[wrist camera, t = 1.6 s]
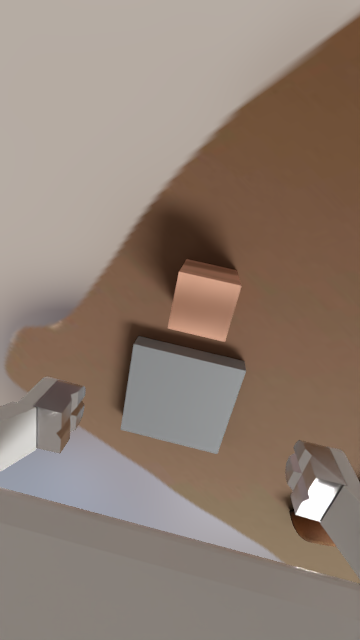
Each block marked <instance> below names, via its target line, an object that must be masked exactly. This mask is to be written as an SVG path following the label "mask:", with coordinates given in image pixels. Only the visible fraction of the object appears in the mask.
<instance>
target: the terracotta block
mask: <svg viewBox="0 0 360 640" xmlns="http://www.w3.org/2000/svg"><path fill="white" fill-rule="evenodd" d="M240 289H241V282H240V279H239V276H238V273H237V270H234V269H229V268H225V267H220V266H216V265H212V264H207V263H203V262H198V261H194V260H189V259H186V261H185V263H184V264H183V266H182V267H181V269H180V271H179V274H178V279H177V284H176V289H175V294H174V299H173V304H172V309H171V314H170V319H169V324H168V328H169V329H173V330H177V331H181V332H185V333H190V334H194V335H198V336H202V337H207V338H211V339H215V340H219V341H223V342H225V340H226V337H227V333H228V330H229V326H230V323H231V320H232V316H233V313H234V310H235V306H236V303H237V299H238V296H239V293H240Z"/></svg>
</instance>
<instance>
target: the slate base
mask: <svg viewBox="0 0 360 640" xmlns="http://www.w3.org/2000/svg"><path fill="white" fill-rule="evenodd" d="M245 372H246V368H245V363H244V361H241V360H237V359H233V358H229V357H225V356H220V355H216V354H212V353H208V352H204V351H200V350H195V349H191V348H187V347H183V346H179V345H174V344H170V343H166V342H162V341H158V340H153V339H149V338H145V337H141V336H138V338H137V339H136V341H135V343H134V345H133V352H132V359H131V365H130V372H129V378H128V385H127V391H126V398H125V405H124V411H123V418H122V424H121V430H124V431H128V432H132V433H136V434H140V435H144V436H148V437H152V438H156V439H160V440H164V441H168V442H172V443H176V444H180V445H183V446H187V447H191V448H195V449H199V450H203V451H207V452H211V453H215V454H217V453H218V450H219V447H220V444H221V442H222V439H223V436H224V433H225V430H226V427H227V424H228V421H229V418H230V416H231V413H232V410H233V407H234V404H235V401H236V398H237V395H238V392H239V390H240V387H241V384H242V381H243V378H244V375H245Z"/></svg>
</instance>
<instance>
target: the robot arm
mask: <svg viewBox="0 0 360 640" xmlns="http://www.w3.org/2000/svg"><path fill="white" fill-rule="evenodd" d="M84 396H85V387H84V386H81V385H77V384H74V383H70V382H67V381H63V380H58V379H55V378H51V377H44V378H43V379H42V380H41V381H39V382H38V383H37V384H36V385H35V386H34V387H33V388H32V389H31V390H30V391H29V392H28V393H27V394H26V395H25V396H24V397H23V398H22V399H21V400H20V401H19V402H18V403H17V402H11V403H8V404H6V405H3V406H0V472H1V471H2V470H4V469H5V468H7V467H8V466H10V465H12V464H14V463H15V462H17V461H18V460H20V459H21V458H23V457H25V456H26V455H28V454H30V453H31V452H33V451H35V450H36V448H39V449H43V450H47V451H52V452H56V453H61V451H62V450H63V448H64V447H65V445H66V444H67V442H68V440H69V439H70V432H71V431H74V430H76V428H77V426H78V425H79V423H80V421H81V418H82V416H83V411H84V403H83V402H82V399H83V398H84ZM294 450H295V454H293V455H291V456H289V458H288V461H287V463H286V470H285V473H286V480H287V484H288V485H289V486H290V488H291V489H292V490H293V492H292V494H291V500H292V504H293V508H294V512H295V515H298V516H302V517H305V518H308V519H312V520H315V521H319V522H321V523H320V524H321V525H322V527H323V528H324V529H325V531H326V532H327V534H328V535H329V536H330V538H331V539H332V541H333V542H334V544H335V545H336V546H337V548H338V549H339V551H340V552H341V553H342V555H343V556H344V558H345V559H346V560H347V562H348V563H349V565H350V566H351V567H352V569H353V570H354V572H355V573H356V574H357V576H358V577H359V579H360V482H359V480H358V478H357V476H356V474H355V472H354V470H353V468H352V467H351V465H350V463H349V461H348V459H347V457H346V455H345V453H344V452H343V451H342V450H340V449H336V448H332V447H325V446H322V445H318V444H314V443H309V442H305V441H301V440H299V441H297V442H296V444H295V446H294ZM0 640H360V584H359V583H355V582H352V581H348V580H344V579H340V578H337V577H333V576H329V575H326V574H322V573H318V572H314V571H311V570H307V569H303V568H299V567H296V566H292V565H288V564H285V563H281V562H277V561H273V560H270V559H266V558H262V557H258V556H255V555H250V554H247V553H243V552H239V551H236V550H232V549H228V548H225V547H221V546H217V545H213V544H210V543H206V542H202V541H199V540H195V539H191V538H187V537H184V536H180V535H176V534H172V533H168V532H165V531H161V530H158V529H154V528H150V527H146V526H143V525H138V524H135V523H131V522H128V521H124V520H120V519H116V518H113V517H109V516H105V515H102V514H98V513H94V512H90V511H87V510H83V509H79V508H76V507H72V506H68V505H64V504H61V503H57V502H53V501H49V500H46V499H42V498H38V497H34V496H31V495H27V494H23V493H20V492H16V491H12V490H8V489H4V488H1V487H0Z"/></svg>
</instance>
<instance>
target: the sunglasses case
mask: <svg viewBox="0 0 360 640" xmlns="http://www.w3.org/2000/svg"><path fill="white" fill-rule="evenodd" d="M290 516H291V520H292V523H293V526H294V528H295V530H296V531H297V533H298V534H299V536H300V537H301V538H303V539H304V540H305V541H308V542H311V543H316V544H321V545H327V546H335V547H337V546H336V545H335V544H334V542H333V541H332V539H331V538H330V536H329V535H328V534H327V532H326V531H325V529H324V528H323V527H322V525H321V524H320V523H321V522H319V521H315V520H312V519H308V518H305V517H302V516H298V515H295V512H294V511H293V512H292V511H290Z"/></svg>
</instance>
